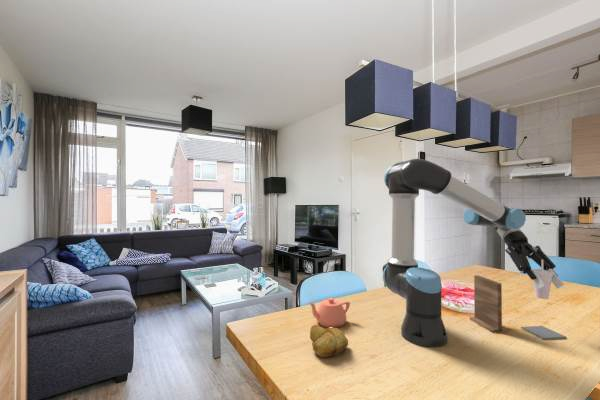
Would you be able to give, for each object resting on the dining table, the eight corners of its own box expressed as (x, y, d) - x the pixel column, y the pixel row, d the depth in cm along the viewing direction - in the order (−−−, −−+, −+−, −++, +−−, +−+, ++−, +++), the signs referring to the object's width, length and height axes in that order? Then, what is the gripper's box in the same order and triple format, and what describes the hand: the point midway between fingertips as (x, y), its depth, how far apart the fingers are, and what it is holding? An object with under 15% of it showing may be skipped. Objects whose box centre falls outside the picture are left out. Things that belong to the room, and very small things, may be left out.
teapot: (356, 326, 111) (356, 301, 111) (312, 331, 106) (312, 306, 106) (343, 314, 123) (343, 292, 123) (303, 319, 118) (303, 296, 118)
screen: (492, 332, 105) (492, 283, 105) (469, 319, 117) (469, 275, 117) (507, 331, 106) (506, 283, 106) (483, 318, 118) (482, 275, 118)
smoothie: (533, 298, 104) (533, 260, 104) (529, 293, 109) (528, 257, 109) (556, 301, 101) (556, 261, 101) (550, 296, 106) (550, 258, 106)
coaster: (543, 339, 100) (543, 338, 100) (520, 328, 109) (520, 326, 109) (566, 338, 101) (566, 336, 101) (542, 327, 110) (542, 325, 110)
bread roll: (342, 341, 99) (342, 318, 99) (356, 356, 89) (356, 330, 89) (307, 347, 95) (307, 323, 95) (317, 363, 86) (317, 336, 86)
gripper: (527, 240, 121) (568, 291, 105) (485, 241, 119) (520, 293, 103) (539, 229, 116) (583, 280, 100) (496, 230, 114) (534, 282, 98)
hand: (551, 286), depth 101 cm, fingers closed on smoothie, 6 cm apart
